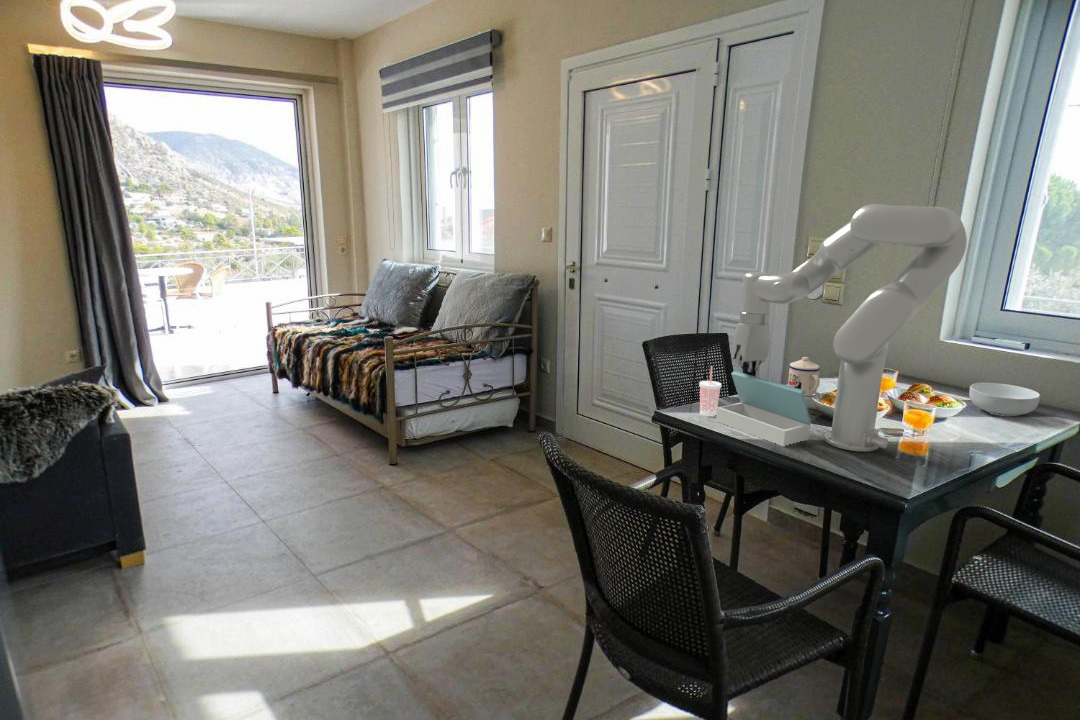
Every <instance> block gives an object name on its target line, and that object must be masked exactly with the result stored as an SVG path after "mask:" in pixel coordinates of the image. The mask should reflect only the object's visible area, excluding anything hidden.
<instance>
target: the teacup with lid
mask: <svg viewBox="0 0 1080 720" xmlns="http://www.w3.org/2000/svg"><path fill="white" fill-rule="evenodd" d="M788 367H789V371H788V380H787V381H788V382H787V386H790V387H794V388H798V389H801V390H804V392H805V393H804V394H803V395H804V397H812V396H811V395H813V394H815V393H816V394H817V391H818V389H819V387H820V383H821V381H820V377H819V373H820V370H821V368H820V365H819V364H817V363H814V362H813V361H811V360H810V359H809V357H808V356H807V357H806V356H803V357H802V358H801V359H799V360H797V361H793V362H791V363H789V365H788Z"/></svg>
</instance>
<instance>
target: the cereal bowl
mask: <svg viewBox="0 0 1080 720" xmlns="http://www.w3.org/2000/svg"><path fill="white" fill-rule="evenodd" d="M968 392H969V394H968V395H969V399H970V401H971V402H972V404H973V405H975V406H976V407H977V408H979V409H981V410H983V411H984V410H985V411H987V412H990V413H993V414H998V415H1004V416H1016V415H1018V416H1021V415H1025V414H1029V413H1031V412H1033V411H1035V410H1036V408H1037V407H1038V406H1039V403H1040V399H1041V394H1040V393H1039V392H1037V391H1035V390H1033V389H1030V388H1027V387H1023V386H1018V385H1013V384H1006V383H997V382H976V383H972V384H971V385H970V386H969V391H968ZM985 411H984V412H985ZM987 412H986V413H987ZM1016 417H1017V416H1016Z"/></svg>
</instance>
